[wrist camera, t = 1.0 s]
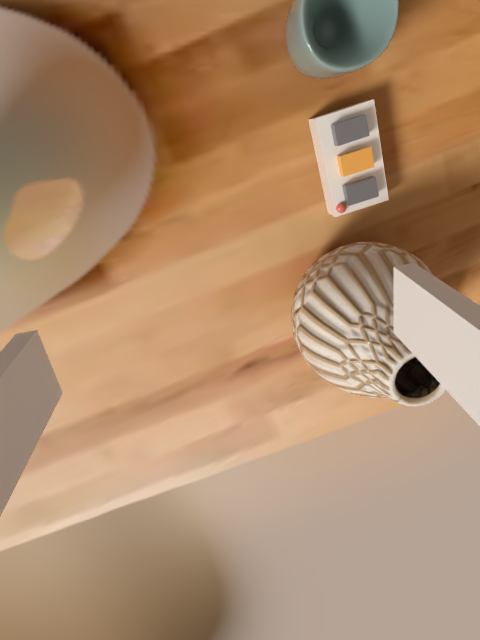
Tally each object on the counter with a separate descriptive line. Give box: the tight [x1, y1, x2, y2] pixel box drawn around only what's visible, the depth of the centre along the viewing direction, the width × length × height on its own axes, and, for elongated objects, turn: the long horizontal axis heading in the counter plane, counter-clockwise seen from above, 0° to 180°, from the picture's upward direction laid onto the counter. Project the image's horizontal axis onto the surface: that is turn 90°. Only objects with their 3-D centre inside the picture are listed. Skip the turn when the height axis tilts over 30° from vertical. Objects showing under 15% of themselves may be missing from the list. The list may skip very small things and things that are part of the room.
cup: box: [285, 0, 399, 79], centre depth 37 cm, size 8×8×10 cm
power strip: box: [309, 99, 389, 217], centre depth 44 cm, size 10×6×4 cm, turn 17°
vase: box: [291, 242, 446, 406], centre depth 43 cm, size 16×16×20 cm
